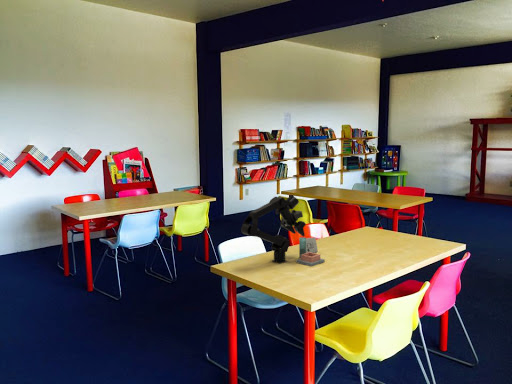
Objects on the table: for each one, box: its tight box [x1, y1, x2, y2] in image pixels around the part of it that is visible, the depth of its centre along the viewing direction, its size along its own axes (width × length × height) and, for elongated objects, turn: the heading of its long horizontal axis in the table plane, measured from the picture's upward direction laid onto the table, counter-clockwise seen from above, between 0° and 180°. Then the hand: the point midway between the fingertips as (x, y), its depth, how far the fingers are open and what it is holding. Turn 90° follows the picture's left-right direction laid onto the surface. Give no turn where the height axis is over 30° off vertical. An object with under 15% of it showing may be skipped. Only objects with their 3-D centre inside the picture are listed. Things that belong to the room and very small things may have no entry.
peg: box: [298, 236, 307, 259], centre depth 262 cm, size 4×4×12 cm
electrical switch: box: [305, 237, 318, 253], centre depth 274 cm, size 9×5×9 cm, turn 116°
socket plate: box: [295, 252, 325, 267], centre depth 253 cm, size 12×11×4 cm
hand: (299, 234), depth 261 cm, fingers open, 9 cm apart
